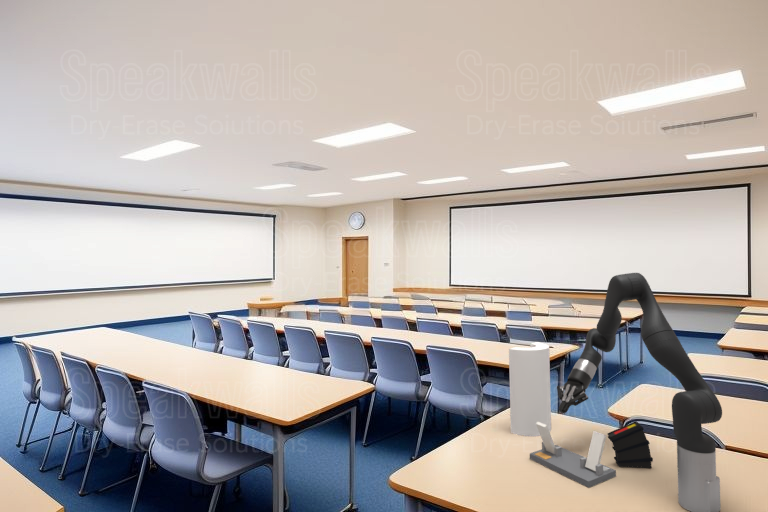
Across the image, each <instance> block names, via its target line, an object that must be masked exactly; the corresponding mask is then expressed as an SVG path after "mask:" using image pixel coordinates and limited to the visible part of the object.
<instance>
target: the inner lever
mask: <svg viewBox="0 0 768 512" xmlns="http://www.w3.org/2000/svg"><path fill="white" fill-rule="evenodd" d="M606 439H607V434H604V433H600V432H598V431H596V430H593V431H592V435H591V440H590V443H589V449H588V453H587V457H586V458H587V460H586V465H585V467H587V468H589V469H592V470H594V471H596V465H598V464H601V460H602V456H603V451H604V447H605V443H606Z"/></svg>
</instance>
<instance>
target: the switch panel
mask: <svg viewBox="0 0 768 512" xmlns="http://www.w3.org/2000/svg"><path fill="white" fill-rule="evenodd" d="M554 445H555V454H553V453H551V452H548V451H546V448H545V446H544V443H543V441H541V449H539V450H536V451H533V452H530V453H529V460H531V461H533V462H535V463H538V464H540V465H541V466H544V467H545V468H547V469H550V470H551V471H553V472H556V473H557V474H560V475H562V476H564V477H566V478H569V479H570V480H572V481H574V482H576V483H578V484H580V485H582V486H584V487H587V488H588V489H590V488H592V487H595V486H597V485H599V484H601V483H603V482H606V481H609V480H610V479H614V478H615V477H617V470H616V469H615V468H612V467H609V466H606V465H604V464H602V463H600V464H598V465H596V471H594V470H592V469H589V468H587V467H585V465H586V460H587V457H585V456H584V455H581V454H579V453H576V452H574V451H572V450H569V449H567V448H564V447H562V446H561V445H559V444H554Z"/></svg>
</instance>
